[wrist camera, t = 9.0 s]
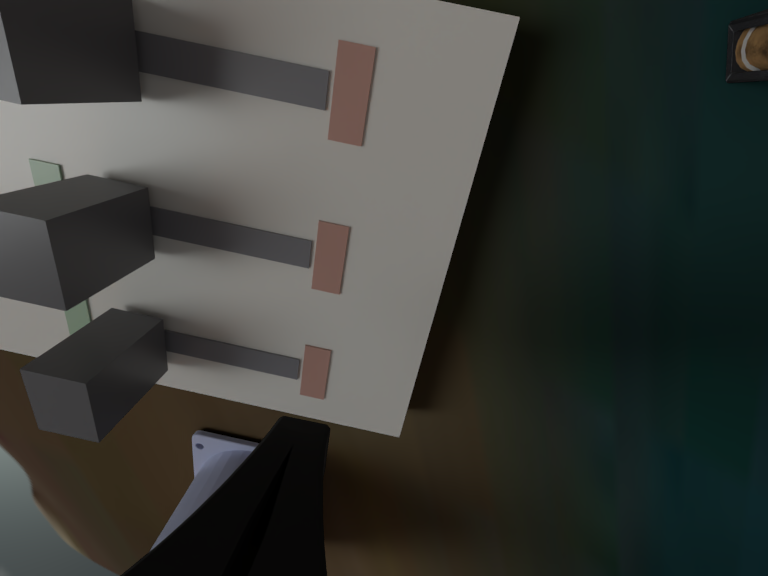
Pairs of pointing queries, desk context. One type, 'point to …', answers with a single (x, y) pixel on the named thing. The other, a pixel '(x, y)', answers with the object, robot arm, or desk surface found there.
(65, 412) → the block
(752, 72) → the ammunition clip
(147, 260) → the block
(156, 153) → the breaker panel
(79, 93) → the block
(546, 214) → the desk surface
